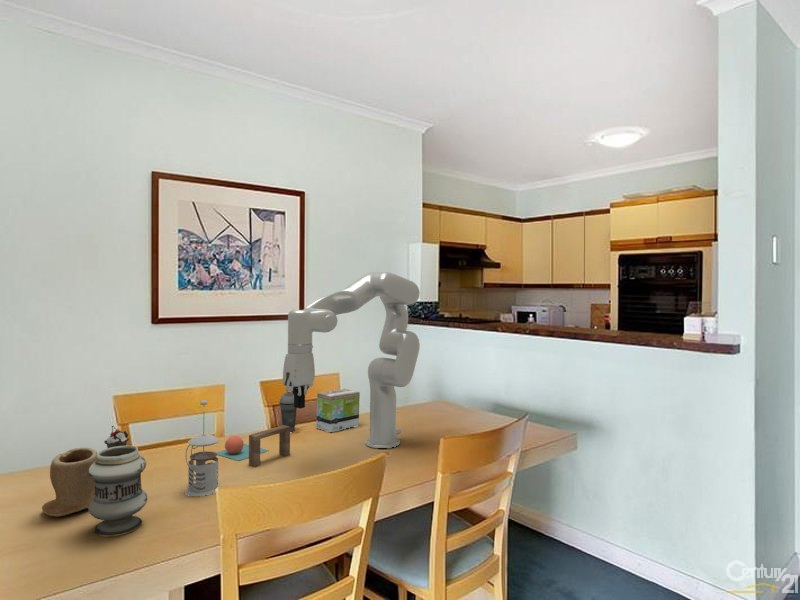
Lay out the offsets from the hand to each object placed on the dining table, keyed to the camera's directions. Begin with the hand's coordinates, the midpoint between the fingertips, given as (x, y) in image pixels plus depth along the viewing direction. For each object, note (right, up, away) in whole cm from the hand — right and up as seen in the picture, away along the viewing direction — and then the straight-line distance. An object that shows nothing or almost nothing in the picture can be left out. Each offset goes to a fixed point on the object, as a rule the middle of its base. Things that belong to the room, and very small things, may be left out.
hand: (299, 407), depth 159 cm
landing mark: (-23, -19, +15) cm, 33 cm away
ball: (-25, -16, +13) cm, 32 cm away
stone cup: (-49, -19, -31) cm, 61 cm away
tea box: (+6, -19, +49) cm, 52 cm away
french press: (-24, -19, -18) cm, 35 cm away
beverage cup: (-13, -19, +42) cm, 47 cm away
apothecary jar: (-34, -20, -41) cm, 57 cm away
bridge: (-11, -19, +7) cm, 23 cm away
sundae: (-54, -19, -7) cm, 57 cm away
